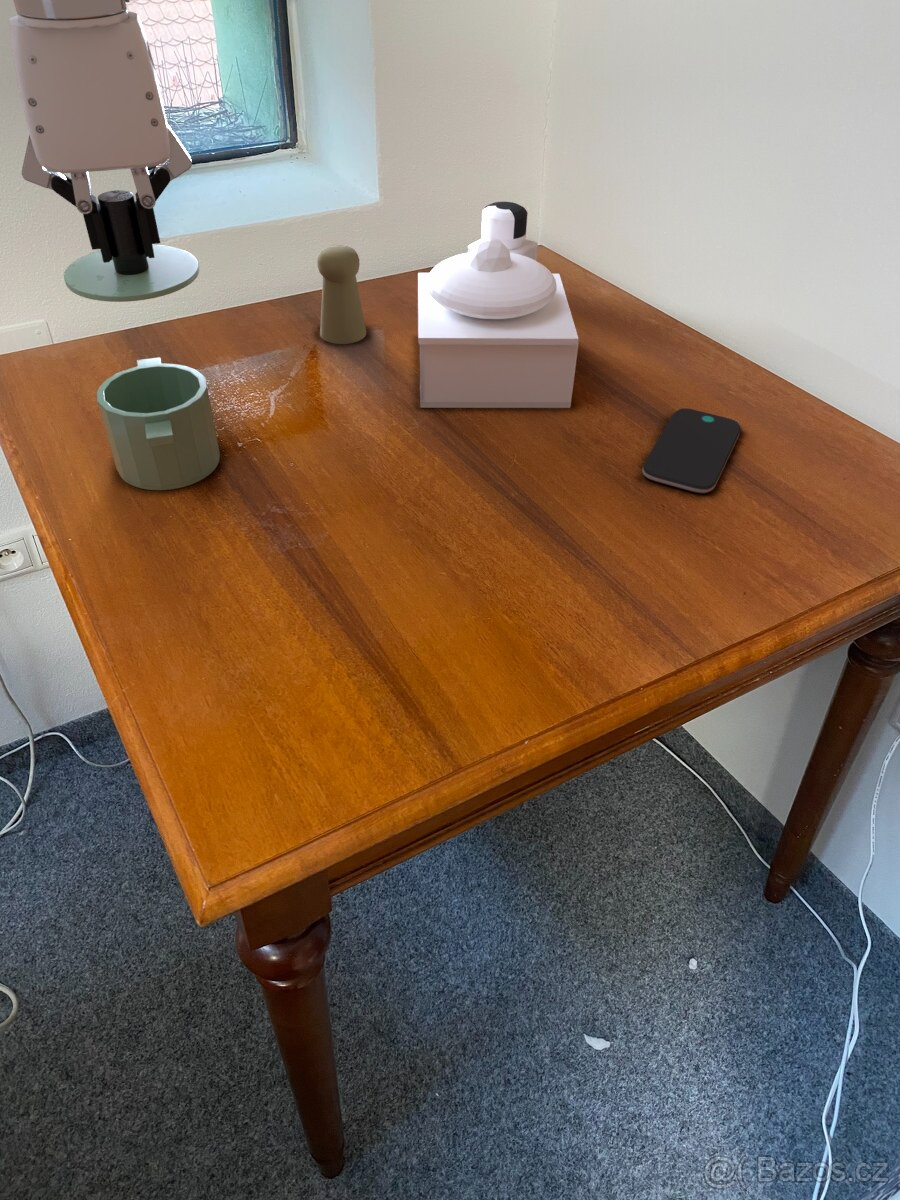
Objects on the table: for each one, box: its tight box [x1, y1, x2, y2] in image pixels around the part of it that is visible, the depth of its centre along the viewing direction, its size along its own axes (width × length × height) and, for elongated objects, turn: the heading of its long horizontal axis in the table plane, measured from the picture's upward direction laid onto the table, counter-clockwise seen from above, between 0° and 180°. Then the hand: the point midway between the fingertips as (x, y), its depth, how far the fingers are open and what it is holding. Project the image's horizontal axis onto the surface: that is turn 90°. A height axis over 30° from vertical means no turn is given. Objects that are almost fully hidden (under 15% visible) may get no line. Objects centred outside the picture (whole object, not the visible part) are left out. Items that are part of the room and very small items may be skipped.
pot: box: [96, 356, 221, 491], centre depth 89 cm, size 10×16×8 cm, turn 18°
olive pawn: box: [316, 244, 367, 345], centre depth 110 cm, size 6×6×11 cm
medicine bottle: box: [466, 201, 539, 261], centre depth 120 cm, size 7×7×12 cm
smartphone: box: [642, 407, 742, 495], centre depth 94 cm, size 8×1×15 cm
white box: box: [417, 239, 580, 409], centre depth 102 cm, size 18×18×16 cm
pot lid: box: [63, 189, 200, 303], centre depth 74 cm, size 11×11×7 cm
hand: (128, 252), depth 75 cm, fingers closed on pot lid, 2 cm apart
